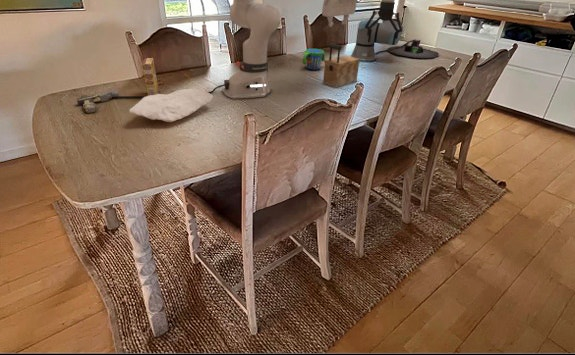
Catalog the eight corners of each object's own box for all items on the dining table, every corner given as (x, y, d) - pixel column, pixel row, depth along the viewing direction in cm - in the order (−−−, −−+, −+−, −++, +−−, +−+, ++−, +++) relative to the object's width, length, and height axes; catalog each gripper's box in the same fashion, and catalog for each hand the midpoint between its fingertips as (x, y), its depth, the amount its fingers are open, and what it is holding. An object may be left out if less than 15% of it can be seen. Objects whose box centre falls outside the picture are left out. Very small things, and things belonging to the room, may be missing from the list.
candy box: (157, 97, 164) (152, 63, 155) (147, 98, 163) (141, 63, 155) (158, 91, 171) (153, 57, 163) (149, 91, 170) (143, 58, 162)
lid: (337, 66, 179) (340, 47, 174) (324, 62, 185) (325, 43, 180) (359, 61, 189) (362, 42, 184) (345, 57, 195) (347, 39, 190)
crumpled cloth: (117, 110, 146) (113, 90, 140) (195, 92, 166) (194, 73, 160) (143, 139, 134) (140, 118, 128) (223, 116, 154) (224, 96, 148)
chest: (336, 87, 185) (338, 66, 180) (322, 82, 191) (324, 62, 185) (356, 81, 195) (359, 61, 189) (343, 77, 200) (345, 57, 195)
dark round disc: (449, 54, 250) (452, 40, 246) (416, 60, 233) (418, 45, 228) (408, 47, 275) (410, 34, 270) (376, 52, 257) (377, 38, 253)
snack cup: (318, 64, 219) (319, 47, 214) (329, 69, 212) (331, 51, 206) (297, 67, 212) (297, 49, 206) (307, 72, 204) (308, 54, 199)
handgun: (128, 97, 156) (111, 87, 164) (86, 107, 144) (70, 97, 152) (129, 103, 157) (113, 94, 165) (88, 114, 146) (72, 103, 154)
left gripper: (330, -5, 158) (327, 28, 165) (360, -7, 170) (356, 24, 177) (320, -7, 162) (317, 26, 169) (349, -9, 174) (346, 22, 181)
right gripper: (363, 0, 192) (357, 41, 204) (411, 4, 185) (402, 47, 196) (366, -2, 198) (360, 39, 210) (413, 2, 191) (404, 44, 202)
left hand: (337, 25), depth 173 cm, fingers open, 8 cm apart
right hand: (380, 43), depth 203 cm, fingers open, 13 cm apart
